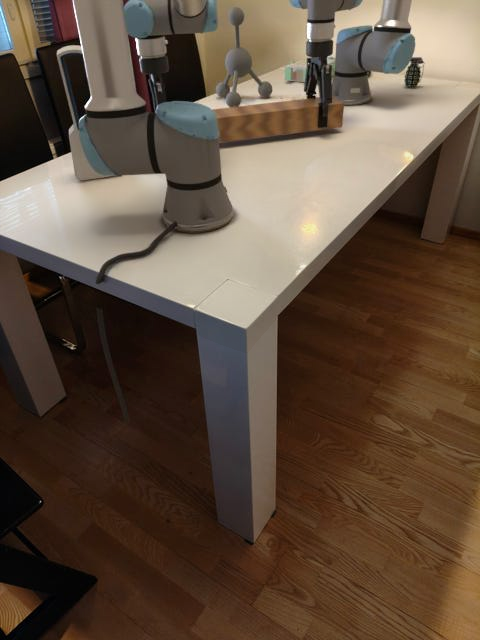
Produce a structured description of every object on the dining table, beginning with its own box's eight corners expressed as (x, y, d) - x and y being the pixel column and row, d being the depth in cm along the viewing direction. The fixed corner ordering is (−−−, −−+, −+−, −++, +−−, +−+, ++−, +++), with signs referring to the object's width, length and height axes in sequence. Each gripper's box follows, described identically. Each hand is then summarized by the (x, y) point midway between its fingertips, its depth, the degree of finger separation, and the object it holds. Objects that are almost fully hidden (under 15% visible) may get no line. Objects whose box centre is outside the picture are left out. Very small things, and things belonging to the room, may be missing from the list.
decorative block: (306, 53, 217) (348, 56, 208) (306, 69, 221) (346, 73, 212) (276, 65, 201) (319, 68, 192) (276, 82, 205) (318, 86, 196)
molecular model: (285, 103, 178) (286, 6, 160) (229, 112, 172) (223, 12, 154) (260, 90, 196) (258, 1, 177) (208, 97, 190) (200, 6, 171)
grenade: (402, 88, 186) (407, 59, 180) (402, 85, 191) (406, 56, 185) (420, 88, 185) (425, 59, 179) (420, 85, 189) (424, 56, 183)
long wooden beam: (144, 152, 138) (140, 127, 134) (141, 141, 145) (137, 117, 141) (342, 127, 148) (344, 103, 143) (330, 118, 155) (331, 95, 151)
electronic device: (76, 181, 127) (42, 52, 109) (76, 171, 133) (43, 47, 115) (124, 174, 130) (98, 47, 111) (122, 165, 135) (97, 42, 117)
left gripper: (172, 61, 121) (183, 151, 134) (162, 48, 138) (172, 129, 151) (142, 64, 119) (156, 155, 133) (135, 50, 137) (148, 132, 150)
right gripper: (348, 44, 128) (342, 131, 142) (318, 33, 145) (314, 111, 159) (321, 47, 127) (317, 134, 141) (294, 35, 144) (293, 114, 158)
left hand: (165, 141), depth 142 cm, fingers closed on long wooden beam, 10 cm apart
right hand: (316, 122), depth 150 cm, fingers closed on long wooden beam, 10 cm apart
